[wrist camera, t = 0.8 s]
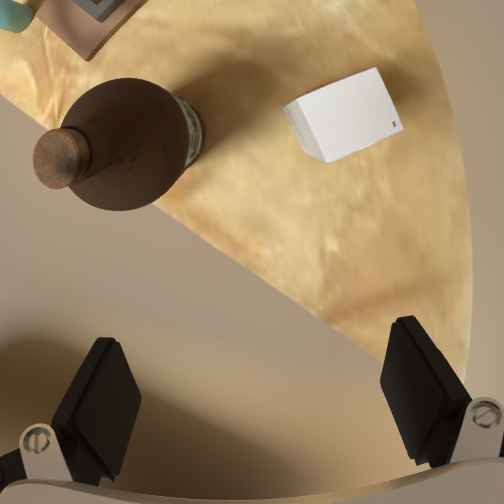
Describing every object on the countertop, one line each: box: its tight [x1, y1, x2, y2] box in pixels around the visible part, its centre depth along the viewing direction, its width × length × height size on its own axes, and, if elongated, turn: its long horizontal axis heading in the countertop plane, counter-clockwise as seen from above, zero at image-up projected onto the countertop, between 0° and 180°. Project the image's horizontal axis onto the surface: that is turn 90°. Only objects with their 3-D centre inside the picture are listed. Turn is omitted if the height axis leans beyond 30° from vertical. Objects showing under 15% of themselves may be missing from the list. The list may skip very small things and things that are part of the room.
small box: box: [282, 67, 404, 164], centre depth 30 cm, size 8×6×13 cm
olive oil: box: [33, 78, 205, 211], centre depth 25 cm, size 11×11×25 cm
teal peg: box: [0, 0, 34, 33], centre depth 24 cm, size 4×4×9 cm
